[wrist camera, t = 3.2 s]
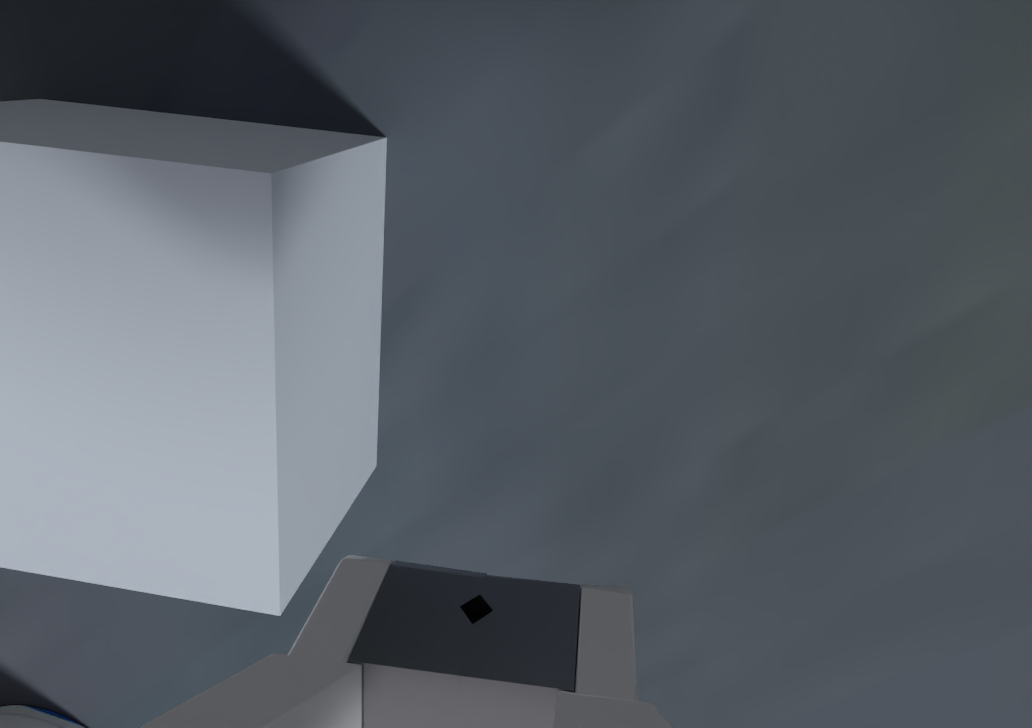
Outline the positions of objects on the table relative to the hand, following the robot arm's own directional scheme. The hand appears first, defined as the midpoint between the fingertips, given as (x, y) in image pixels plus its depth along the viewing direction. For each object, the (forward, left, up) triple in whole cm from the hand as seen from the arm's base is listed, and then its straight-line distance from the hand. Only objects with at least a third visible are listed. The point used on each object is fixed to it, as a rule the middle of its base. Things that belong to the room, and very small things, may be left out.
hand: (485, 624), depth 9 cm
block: (+8, 0, -11) cm, 13 cm away
